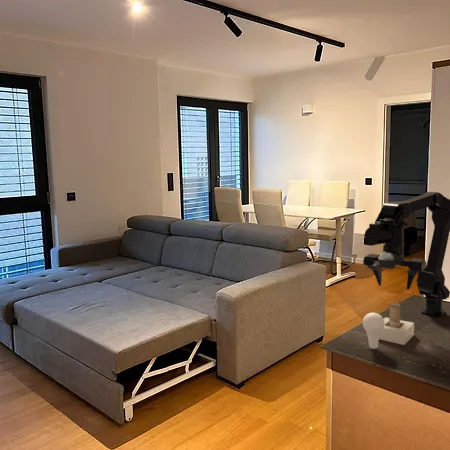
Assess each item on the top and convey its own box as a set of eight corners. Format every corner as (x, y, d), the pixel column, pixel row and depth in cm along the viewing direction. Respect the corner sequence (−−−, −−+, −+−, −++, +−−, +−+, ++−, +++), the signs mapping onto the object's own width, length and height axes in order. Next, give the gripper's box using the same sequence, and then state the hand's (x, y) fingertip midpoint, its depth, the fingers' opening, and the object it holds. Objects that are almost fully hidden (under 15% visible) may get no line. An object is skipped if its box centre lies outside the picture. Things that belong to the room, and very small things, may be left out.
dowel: (391, 332, 144) (391, 302, 142) (401, 334, 142) (401, 303, 140) (387, 335, 141) (387, 304, 140) (397, 338, 139) (398, 306, 138)
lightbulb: (385, 353, 130) (386, 317, 129) (363, 352, 132) (363, 316, 130) (382, 344, 136) (383, 309, 134) (361, 344, 137) (361, 309, 136)
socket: (385, 329, 148) (385, 317, 147) (413, 335, 142) (414, 322, 142) (374, 338, 141) (374, 326, 141) (404, 344, 135) (404, 332, 135)
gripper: (356, 243, 147) (356, 289, 149) (416, 248, 135) (415, 298, 137) (369, 237, 155) (369, 281, 158) (427, 241, 144) (426, 289, 146)
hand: (393, 287), depth 149 cm, fingers open, 9 cm apart
